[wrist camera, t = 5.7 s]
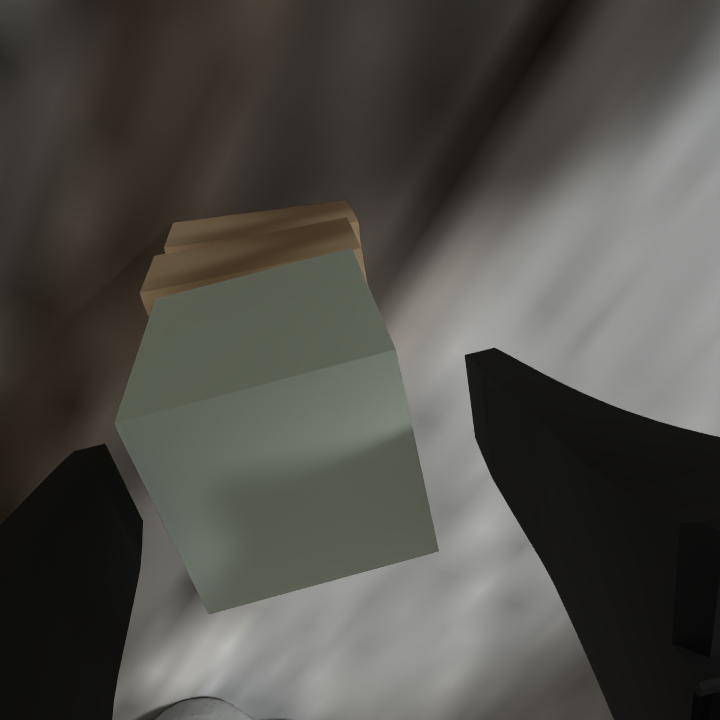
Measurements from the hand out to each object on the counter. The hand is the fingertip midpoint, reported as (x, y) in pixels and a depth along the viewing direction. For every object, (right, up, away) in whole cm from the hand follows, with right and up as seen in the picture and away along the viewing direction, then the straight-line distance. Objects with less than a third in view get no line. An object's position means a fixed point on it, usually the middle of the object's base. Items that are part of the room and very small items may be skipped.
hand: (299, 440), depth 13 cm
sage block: (-1, +2, +3) cm, 3 cm away
